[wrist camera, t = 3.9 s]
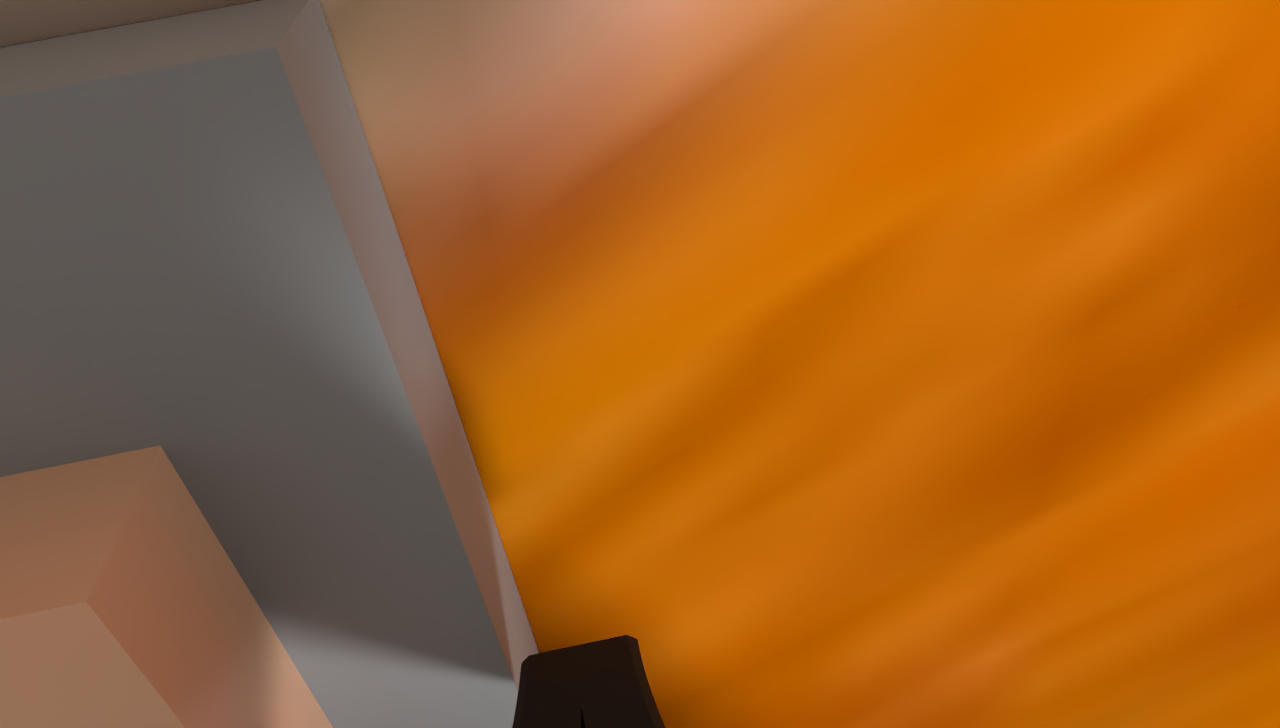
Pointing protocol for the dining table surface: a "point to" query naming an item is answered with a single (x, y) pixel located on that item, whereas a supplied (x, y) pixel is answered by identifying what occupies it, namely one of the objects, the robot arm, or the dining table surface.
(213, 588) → the tile
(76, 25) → the dining table surface
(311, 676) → the riser
